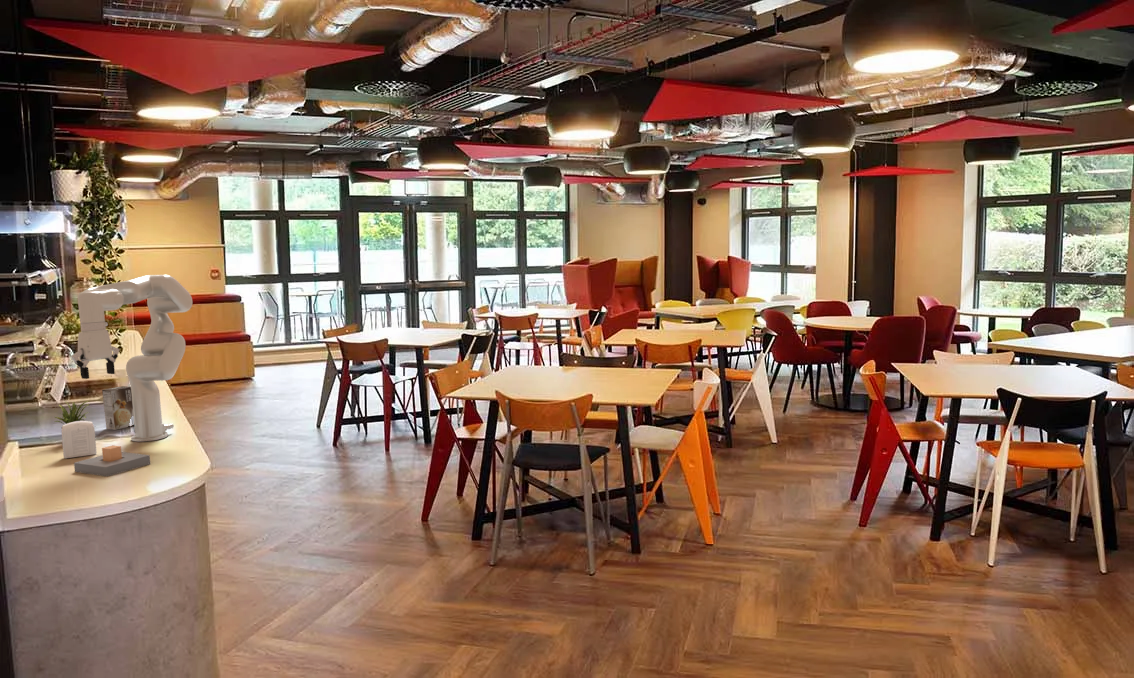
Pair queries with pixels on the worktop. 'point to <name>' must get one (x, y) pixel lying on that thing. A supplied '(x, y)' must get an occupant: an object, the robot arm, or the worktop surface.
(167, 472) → the worktop surface
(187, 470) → the worktop surface
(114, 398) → the coffee box
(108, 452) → the orange rectangular block
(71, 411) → the house plant
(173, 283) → the robot arm
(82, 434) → the photo printer
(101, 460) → the grey square hole board
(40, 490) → the worktop surface
